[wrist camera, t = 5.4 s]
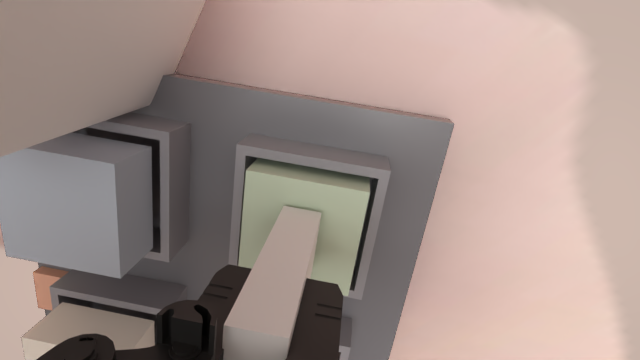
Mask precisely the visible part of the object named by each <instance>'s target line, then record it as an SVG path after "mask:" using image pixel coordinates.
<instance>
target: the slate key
mask: <svg viewBox="0 0 640 360" xmlns="http://www.w3.org/2000/svg"><path fill="white" fill-rule="evenodd" d="M0 224H1V230H2V235H3V241H4V246H5V252H6V256H9V257H14V258H19V259H24V260H29V261H34V262H39V263H44V264H49V265H54V266H59V267H64V268H69V269H74V270H79V271H84V272H89V273H94V274H99V275H104V276H109V277H114V278H119V279H121V278H122V277H123V276H124V275H125V274H126V273H127V272H128V271H129V270H130V269H131V268H132V267H133V266H134V265H136V264H137V263H138V262H139V261H140V260H141V259H142V258H143V257H144V256H145V255H146V254H147V253H148V252H149V251H150V250H151V249H152V248H153V209H152V147H151V146H145V145H140V144H134V143H128V142H123V141H117V140H111V139H106V138H100V137H95V136H89V135H83V134H78V133H72V132H71V133H68V134H65V135H62V136H59V137H57V138H54V139H51V140H48V141H45V142H42V143H39V144H36V145H34V146H31V147H28V148H25V149H22V150H19V151H16V152H13V153H11V154H8V155H5V156H2V157H0Z"/></svg>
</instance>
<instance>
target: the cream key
mask: <svg viewBox="0 0 640 360" xmlns="http://www.w3.org/2000/svg"><path fill="white" fill-rule="evenodd" d="M94 333H96V334H100V335H104V336H107V337H108V338H109V339H111V340H112V341H113V343H114V346H115V350H126V349H140V348H147V347H151V346H154V345H155V334H154V321H153V320H148V319H143V318H138V317H133V316H128V315H124V314H119V313H114V312H109V311H104V310H99V309H94V308H89V307H84V306H80V305H75V304H70V303H65V302H62V303H61V304H60V305H58V306H57V307H56V308H55V309H54V310H52V311H51V312H50V313H49V314H48V315H47V316H45V317H44V318H43V319H42V320H41V321H40V322H38V323H37V324H36V325H35V326H34V327H32V328H31V329H30V330H29V331H28V332H27V333H25V334H24V335H23V336H22V337H21V340H22V346H23V352H24V357H25V360H36V359H38V358H39V357H40V356H42V355H43V354H45V353H46V352H48V351H49V350H50V349H52V348H53V347H55V346H56V345H58V344H60V343H61V342H63V341H65V340H67V339H69V338H72V337H75V336H78V335H82V334H94Z"/></svg>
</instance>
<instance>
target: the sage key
mask: <svg viewBox="0 0 640 360" xmlns="http://www.w3.org/2000/svg"><path fill="white" fill-rule="evenodd" d="M369 195H370V179H369V177H365V176H360V175H354V174H348V173H343V172H337V171H331V170H326V169H320V168H314V167H309V166H303V165H297V164H292V163H286V162H280V161H275V160H269V159H263V158H257V159H256V160H255V161H254V162H253V163H252V164H251V166H250V167H249V168H248V169H247V170H246V176H245V189H244V201H243V214H242V226H241V239H240V251H239V264H238V266H240V267H246V268H251V269H252V268H253V266H254V264H255V262H256V260H257V258H258V256H259V254H260V252H261V250H262V248H263V246H264V244H265V242H266V240H267V238H268V236H269V234H270V232H271V230H272V228H273V226H274V224H275V222H276V220H277V218H278V216H279V214H280V212H281V210H282V208H283V206H288V207H294V208H299V209H305V210H310V211H316V212H321V219H320V225H319V231H318V237H317V244H316V250H315V256H314V262H313V268H312V273H311V278H310V279H314V280H319V281H324V282H329V283H334V284H338V286H339V288H340V290H341V292H342V294H343V295H344V296H348V294H349V289H350V285H351V280H352V275H353V271H354V266H355V261H356V256H357V252H358V247H359V242H360V237H361V233H362V228H363V223H364V219H365V214H366V209H367V204H368V200H369Z"/></svg>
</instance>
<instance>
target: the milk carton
mask: <svg viewBox="0 0 640 360" xmlns="http://www.w3.org/2000/svg"><path fill="white" fill-rule="evenodd" d="M205 2H206V0H0V157H2V156H5V155H8V154H11V153H13V152H16V151H19V150H22V149H25V148H28V147H31V146H34V145H36V144H39V143H42V142H45V141H48V140H51V139H54V138H57V137H59V136H62V135H65V134H68V133H71V132H74V131H77V130H80V129H83V128H85V127H88V126H91V125H94V124H97V123H100V122H103V121H106V120H108V119H111V118H114V117H117V116H120V115H123V114H126V113H129V112H131V111H134V110H137V109H140V108H143V107H146V106H149V105H150V104H151V102H152V100H153V98H154V96H155V93H156V91H157V89H158V86H159V84H160V82H161V79H162V77H163V75H168V74H174V73H175V71H176V68H177V66H178V64H179V61H180V59H181V57H182V55H183V52H184V50H185V48H186V45H187V43H188V41H189V38H190V36H191V34H192V32H193V29H194V27H195V25H196V22H197V20H198V18H199V15H200V13H201V11H202V9H203V6H204V4H205Z"/></svg>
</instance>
